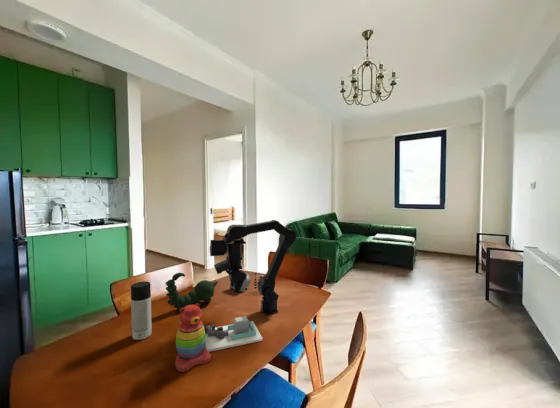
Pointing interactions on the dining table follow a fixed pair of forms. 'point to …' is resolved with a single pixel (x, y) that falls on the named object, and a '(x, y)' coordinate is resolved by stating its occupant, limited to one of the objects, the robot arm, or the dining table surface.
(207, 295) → the toy figurine
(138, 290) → the spray can
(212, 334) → the board
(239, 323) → the block
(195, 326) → the stacking bear
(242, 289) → the voltmeter
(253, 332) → the end holder
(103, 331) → the dining table surface
